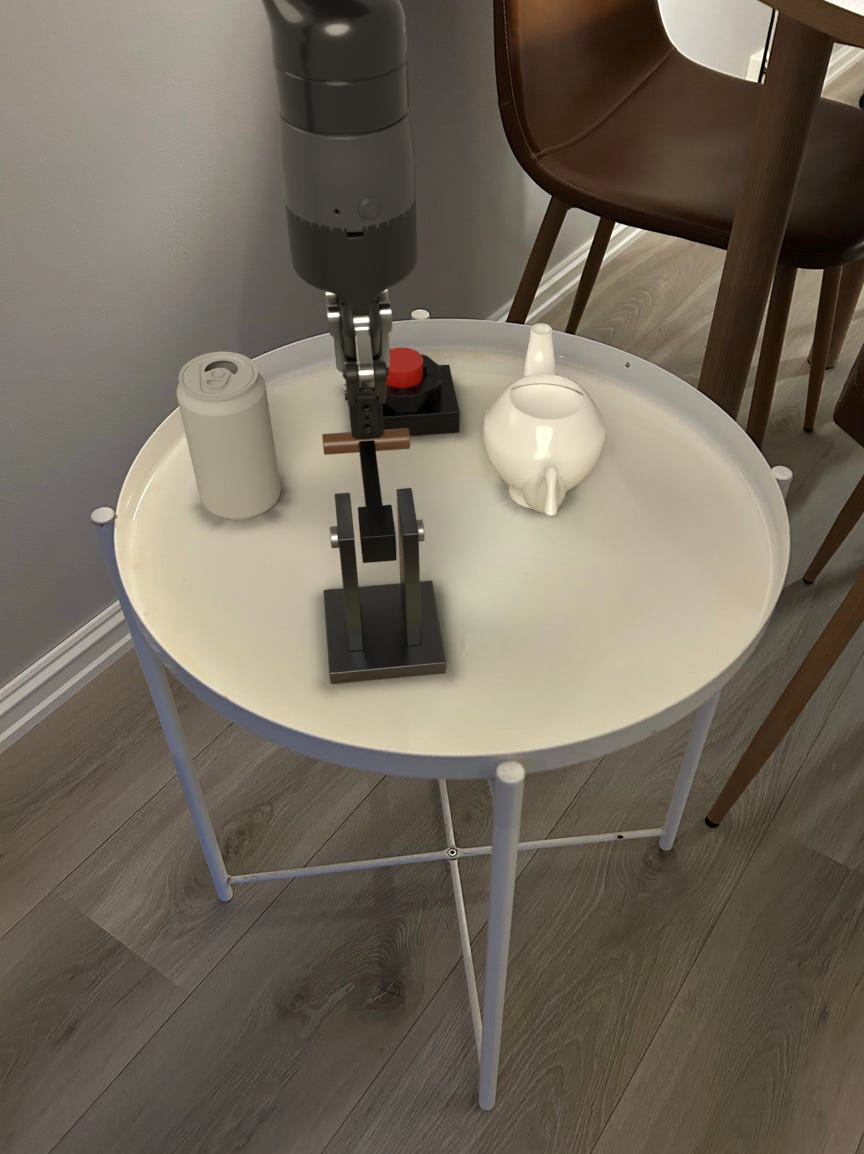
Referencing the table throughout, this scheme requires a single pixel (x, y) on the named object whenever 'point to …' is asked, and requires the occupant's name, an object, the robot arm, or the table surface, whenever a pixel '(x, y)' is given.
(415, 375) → the button
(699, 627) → the table surface
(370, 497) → the lever
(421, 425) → the control block
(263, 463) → the beverage can
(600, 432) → the teapot
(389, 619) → the bracket
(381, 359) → the robot arm
